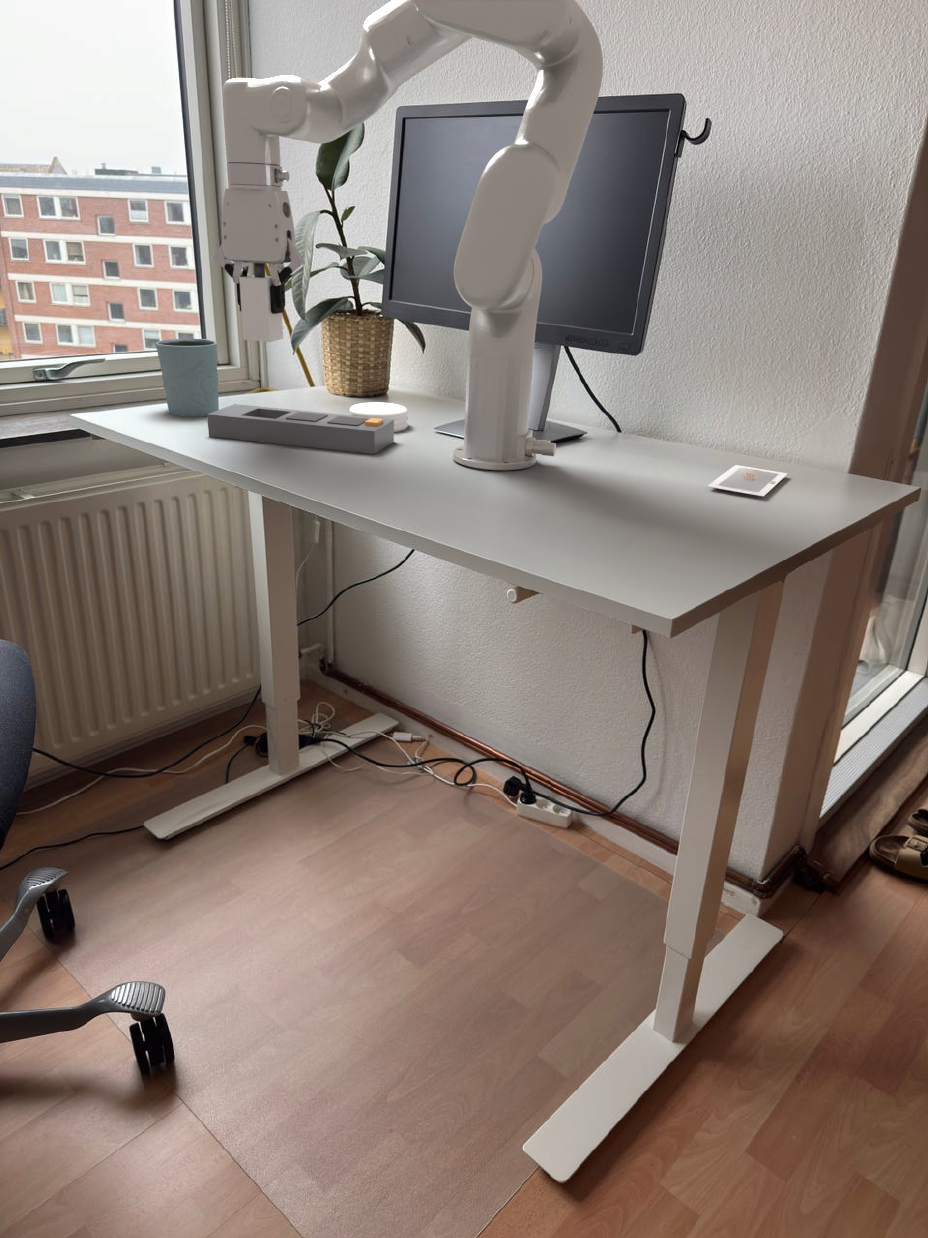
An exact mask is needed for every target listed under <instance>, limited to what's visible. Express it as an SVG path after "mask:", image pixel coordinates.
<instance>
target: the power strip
mask: <svg viewBox="0 0 928 1238" xmlns="http://www.w3.org/2000/svg"><path fill="white" fill-rule="evenodd" d="M206 418H207V429H208V437H213V438H222V439H223V438H224V439H232V440H240V441H241V440H242V441H248V442H249V441H250V442H259V443H260V442H261V443H267V444H280V445H287V446H296V447H304V448H305V447H306V448H307V447H308V448H316V449H324V450H334V451H343V452H354V453H362V454H370V455H371V454H372V455H373V454H374V455H375V454H377V453H378V452H380V451H382V450H383V449H384V448H386V447H388V446H389V445H390V444H392V443H394V441H395V439H394V438H395V436H394V435H395V434H394V433H395V432H394V420H391V419H381V418H371V417H361V416H351V415H350V414H339V413H329V412H321V411H320V412H318V411H308V410H296V409H289V408H288V409H287V408H277V407H267V406H256V405H247V404H236V403H234V404H231V405H229V406H225V407H223V408H221V409H220V408H219V410H217V411H215V412H212V413H209V414H207V417H206Z"/></svg>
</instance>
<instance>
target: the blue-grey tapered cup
mask: <svg viewBox="0 0 928 1238" xmlns="http://www.w3.org/2000/svg"><path fill="white" fill-rule="evenodd" d="M155 347H156V351H157V356H158V359H159V365H160V372H161V377H162V382H163V388H164V390H165V391H164V392H165V394H166V395H165V399H166V404H167V409H168V413H169V414H170V415H173V416H176V417H188V418H189V417H191V418H192V417H193V418H196V417H206V416H207V414H209V413H212V412H215V411H217V410H220V405H219V404H220V403H219V374H218V342H217V340H213V339H206V338H175V339H174V338H173V339H171V338H170V339H164V340H162V339H161V340H158V341H156V343H155Z"/></svg>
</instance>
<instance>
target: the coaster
mask: <svg viewBox="0 0 928 1238" xmlns="http://www.w3.org/2000/svg"><path fill="white" fill-rule="evenodd" d="M408 412H409V410H408V409H407V407H405V406H403V405H401V404H399V403H398V404H397V403H391V402H382V401H381V402H379V401H378V402H377V401H375V402H374V401H373V402H361V403H356V404H353V405H351V406H350V408H349V415H351V416H361V417H371V418H381V419H391V420H394V433H399V432H401V431H402V432H403V431H404V430H407V428H408V419H409V418H408Z"/></svg>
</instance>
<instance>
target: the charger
mask: <svg viewBox="0 0 928 1238" xmlns="http://www.w3.org/2000/svg"><path fill="white" fill-rule="evenodd" d="M253 271H254V273H253V274H254V275H249V276H245V277H239V280H240V296H241V311H240V312H241V323H242V324H241V325H242V340H243V341H252V342H253V341H255V342H268V343H271V342H276V341H280V340H283V339H284V328H283V313H278V314H272V313H271V301H270V286H272V285H273V284H272V278H271V276H266V263H253Z"/></svg>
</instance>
